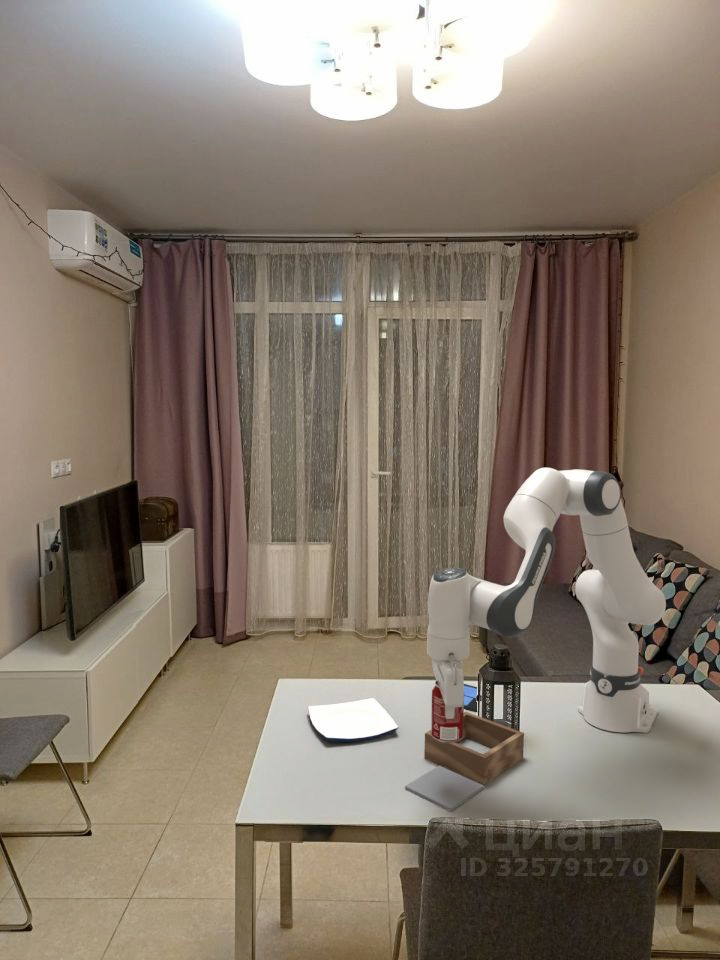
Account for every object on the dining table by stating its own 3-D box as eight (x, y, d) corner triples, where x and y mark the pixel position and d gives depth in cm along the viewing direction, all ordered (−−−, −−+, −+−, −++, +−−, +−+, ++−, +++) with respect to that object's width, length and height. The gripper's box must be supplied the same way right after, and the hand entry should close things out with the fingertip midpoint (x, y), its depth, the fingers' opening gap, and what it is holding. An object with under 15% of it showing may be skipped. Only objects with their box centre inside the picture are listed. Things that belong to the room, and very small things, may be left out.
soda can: (461, 747, 142) (462, 691, 141) (428, 743, 143) (430, 687, 142) (464, 732, 148) (465, 679, 147) (433, 728, 150) (434, 675, 149)
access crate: (464, 734, 171) (465, 711, 171) (523, 757, 160) (524, 733, 160) (424, 757, 160) (424, 733, 159) (484, 784, 148) (485, 758, 148)
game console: (430, 702, 192) (430, 694, 191) (450, 687, 202) (450, 680, 202) (478, 715, 184) (478, 707, 184) (496, 698, 195) (496, 691, 194)
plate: (375, 705, 189) (375, 696, 189) (403, 739, 170) (403, 728, 169) (303, 714, 182) (303, 705, 182) (323, 750, 163) (323, 740, 163)
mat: (438, 768, 155) (439, 765, 155) (483, 788, 147) (484, 785, 147) (405, 788, 146) (405, 786, 146) (450, 811, 138) (450, 808, 138)
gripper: (472, 664, 133) (470, 732, 135) (455, 630, 154) (453, 690, 155) (440, 664, 133) (438, 732, 135) (427, 630, 154) (425, 690, 155)
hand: (446, 709), depth 145 cm, fingers closed on soda can, 6 cm apart
